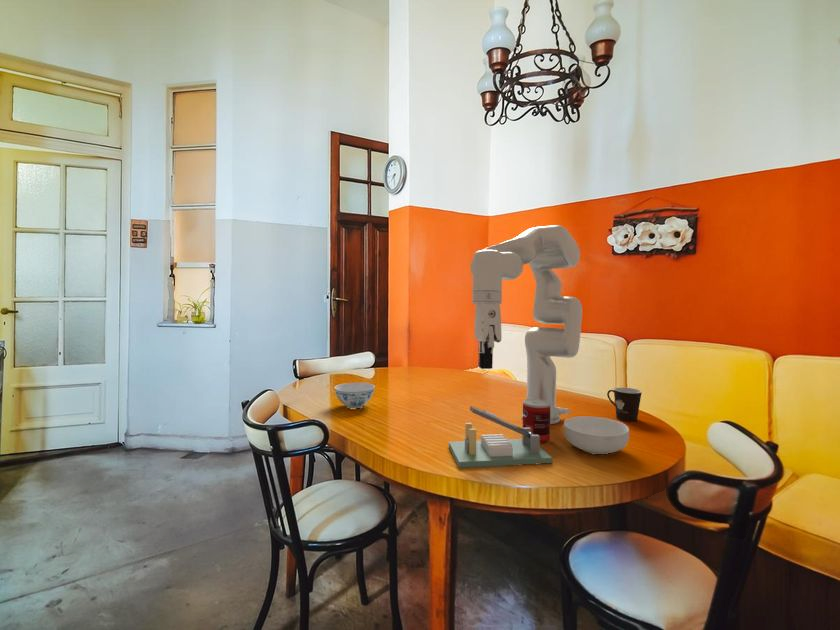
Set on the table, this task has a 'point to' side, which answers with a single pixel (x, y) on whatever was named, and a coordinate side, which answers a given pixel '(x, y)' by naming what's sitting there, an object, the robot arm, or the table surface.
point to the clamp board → (497, 461)
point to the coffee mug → (626, 403)
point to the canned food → (537, 417)
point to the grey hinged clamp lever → (500, 421)
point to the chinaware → (354, 394)
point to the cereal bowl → (596, 434)
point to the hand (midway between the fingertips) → (485, 368)
